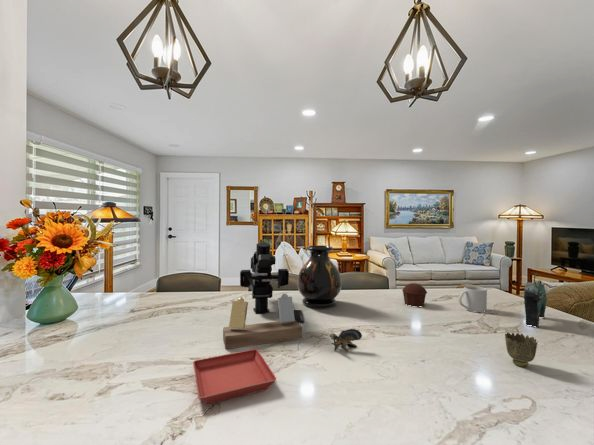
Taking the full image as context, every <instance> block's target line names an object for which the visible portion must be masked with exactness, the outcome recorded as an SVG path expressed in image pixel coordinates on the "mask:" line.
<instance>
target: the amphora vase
mask: <svg viewBox="0 0 594 445" xmlns="http://www.w3.org/2000/svg"><path fill="white" fill-rule="evenodd" d="M306 250H308V251H309V252H310V257H309V259H308V260H307V261H306V262H305V263H304V264H303V265H302V267H301V268H300V270H299V273H298V276H297V281H296V282H297V283H296V284H297V289H298V291H299V293H300V294H301V296H302V297H303V298H302V299H301V300H302V301H301V302H302V304H303V305H304V306H306V307H309V308H313V309H327V308H328V309H329V308H332V307H334V306H335V305H336V304H337V300H336V299H335V298H337V296H338V295H339V294H340V293H341V290H342V283H343V282H342V278H341V272H340V270H339V268H338V267H337V266H336V265H335V263H334V262H333V261H332V260H331V259H330V257H329V254H330V252H331V251H333V250H334V247H333V246H329V245H310V246H309V245H307V247H306Z"/></svg>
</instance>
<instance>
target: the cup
mask: <svg viewBox="0 0 594 445" xmlns="http://www.w3.org/2000/svg"><path fill="white" fill-rule="evenodd" d="M504 338H505V339H504V340H505V347H506V350H507V353H508V355H509V356H510V358H512V363H513V364H514V365H515V366H518V367H521V368H527V367H528V366H529V365H530V364H529V363H530V362H532V361H534V359H535V356H536V352H537V348H538V343H539V342H538V341H537V339H536V338H534V336H530V337H529V335H528V334H527V335H525V336H524V334H523V333H519V332H516V334H515V333H514V332H506V333H505V334H504Z"/></svg>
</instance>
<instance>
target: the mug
mask: <svg viewBox="0 0 594 445" xmlns="http://www.w3.org/2000/svg"><path fill="white" fill-rule="evenodd" d="M463 295H464V297H463ZM487 295H488V289H487V288H485V287H482V286H476V285H468V286H467V285H466V286H464V289H463V290H462V291H461V292H459V296H458V302H459V305H460V306H461V307H463V309H464V308H465V309H467V310H466V311H468V310H470V311H469V312H471V311H476V312H475V313H477V312H484V311H486V312H487V311H488V310H487V303H488V302H487V300H488V297H487ZM462 298H463V299H462ZM462 300H463V301H462ZM465 309H464V310H465ZM484 313H485V312H484Z"/></svg>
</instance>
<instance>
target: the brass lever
mask: <svg viewBox="0 0 594 445" xmlns="http://www.w3.org/2000/svg"><path fill="white" fill-rule="evenodd" d="M248 305H249V302H248V301H245V300H244V298H243V297H238V298H237V300H233V301H232V305H231V310H230V318H229V323H228V324H229V325H228V327H230V328H245V325H246V321H247V313H248Z"/></svg>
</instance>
